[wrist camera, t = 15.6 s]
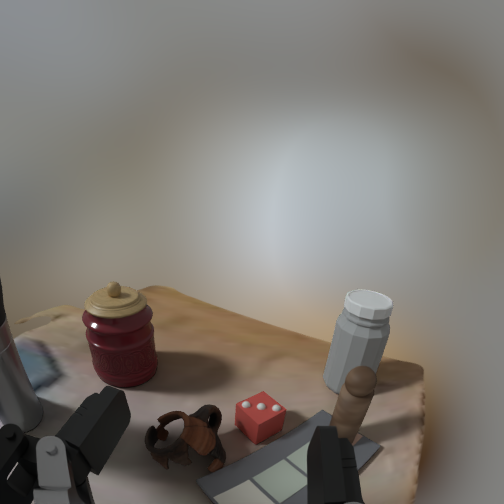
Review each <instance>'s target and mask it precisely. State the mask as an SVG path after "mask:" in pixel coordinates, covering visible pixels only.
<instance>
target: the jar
mask: <svg viewBox="0 0 504 504" xmlns="http://www.w3.org/2000/svg"><path fill="white" fill-rule="evenodd" d="M392 309H393V301H392V300H391V299H390V298H389V297H387V296H386V295H384V294H381V293H379V292H375V291H370V290H353V291H350V292H348V293H347V295H346V298H345V303H344V309H343V312H342V314H340V315H339V317H338V319H337V321H336V326H335V330H334V335H333V339H332V343H331V347H330V351H329V355H328V359H327V363H326V367H325V371H324V374H323V378H324V381H325V383H326V385H327V387H328V388H329V389H330V390H332V391H333V392H334V393H336V394H338V395H339V393H340V390H341V387H342V385H343V384H344V383H345V378H346V376H347V374H348V373H349V371H350V370H352V369H353V368H355V367H357V366H367V367H370V368H371V369H372V370H373V371H374V372H375V374H376V372H377V369H378V366H379V363H380V361H381V358H382V355H383V352H384V349H385V346H386V343H387V340H388V337H389V333H390V325H389V316H391V312H392Z"/></svg>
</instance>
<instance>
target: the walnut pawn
mask: <svg viewBox="0 0 504 504" xmlns="http://www.w3.org/2000/svg"><path fill="white" fill-rule="evenodd" d="M376 382H377V378H376V374H375V372H374V371H373V370H372V369H371V368H370V367H367V366H357V367H355V368H353V369H352V370H350V371H349V373H348V374H347V376H346V378H345V383H344V384H343V385H342V387H341V390H340V393H339V396H338V400H337V403H336V406H335V409H334V412H333V415H332V418H331V421H330V424H329V426H336V427H337V432H338V438H348V440H349V441H350V443H351V444H352V443H353V441H354V439H355V437H356V435H357V433H358V431H359V428H360V426H361V424H362V422H363V419H364V417H365V415H366V412H367V410H368V408H369V405H370V403H371V400H372V398H373V395H374V388H375V386H376Z"/></svg>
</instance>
